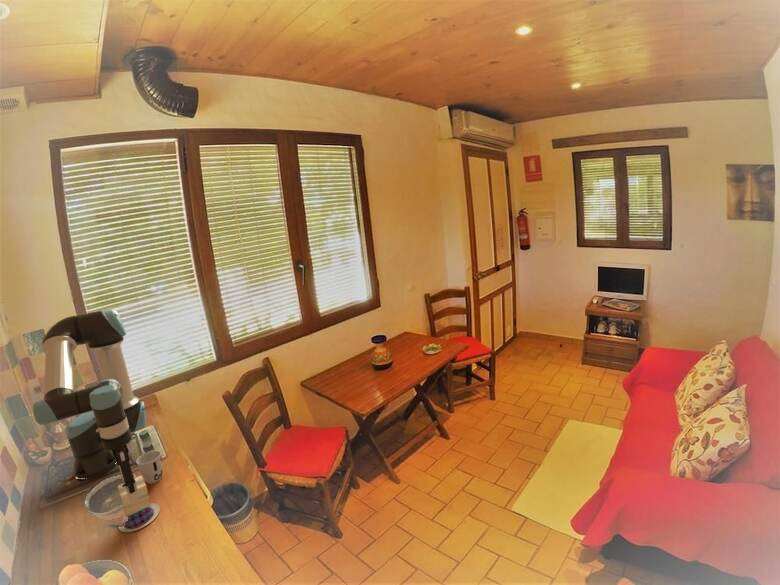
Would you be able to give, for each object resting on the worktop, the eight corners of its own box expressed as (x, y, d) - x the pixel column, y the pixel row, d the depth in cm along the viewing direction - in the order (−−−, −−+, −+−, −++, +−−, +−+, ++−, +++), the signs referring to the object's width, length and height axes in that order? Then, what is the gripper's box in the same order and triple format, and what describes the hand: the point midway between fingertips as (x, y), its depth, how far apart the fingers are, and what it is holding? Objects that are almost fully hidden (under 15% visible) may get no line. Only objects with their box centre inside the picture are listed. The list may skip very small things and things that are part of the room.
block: (122, 506, 127) (117, 485, 126) (146, 495, 132) (141, 475, 130) (125, 517, 122) (120, 496, 121) (150, 505, 127) (145, 484, 125)
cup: (158, 486, 143) (152, 463, 141) (137, 487, 143) (131, 464, 141) (170, 471, 151) (165, 449, 148) (150, 472, 151) (145, 450, 149)
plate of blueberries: (154, 499, 137) (151, 487, 135) (164, 516, 128) (161, 504, 127) (115, 521, 128) (111, 508, 127) (123, 540, 120) (119, 527, 119)
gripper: (96, 423, 127) (112, 476, 132) (105, 456, 109) (123, 516, 114) (123, 413, 132) (137, 465, 137) (135, 444, 113) (151, 502, 118)
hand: (131, 488), depth 125 cm, fingers open, 13 cm apart
